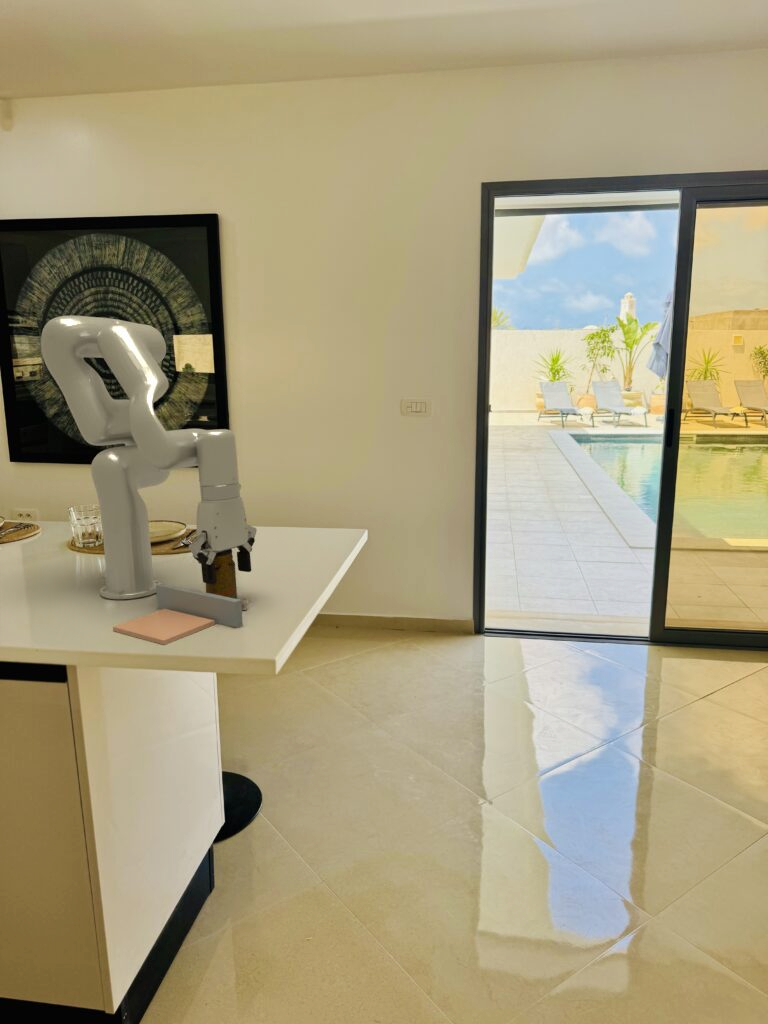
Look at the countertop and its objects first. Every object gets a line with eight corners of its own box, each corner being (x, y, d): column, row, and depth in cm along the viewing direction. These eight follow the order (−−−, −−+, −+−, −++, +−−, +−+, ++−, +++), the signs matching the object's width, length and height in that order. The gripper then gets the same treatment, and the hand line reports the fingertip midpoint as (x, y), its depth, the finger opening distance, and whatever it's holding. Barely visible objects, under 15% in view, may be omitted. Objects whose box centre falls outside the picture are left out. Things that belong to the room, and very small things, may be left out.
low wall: (157, 609, 145) (155, 585, 144) (163, 607, 147) (161, 583, 146) (236, 627, 134) (235, 602, 133) (242, 625, 135) (241, 599, 134)
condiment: (208, 602, 149) (204, 546, 147) (249, 600, 150) (246, 544, 148) (202, 613, 142) (198, 554, 140) (246, 611, 143) (242, 552, 141)
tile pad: (113, 630, 133) (112, 626, 133) (164, 612, 143) (164, 608, 143) (163, 644, 126) (163, 640, 126) (214, 624, 136) (214, 620, 135)
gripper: (237, 485, 151) (244, 565, 154) (172, 498, 137) (181, 585, 140) (264, 487, 147) (270, 568, 150) (200, 500, 133) (208, 590, 136)
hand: (227, 576), depth 145 cm, fingers open, 9 cm apart
